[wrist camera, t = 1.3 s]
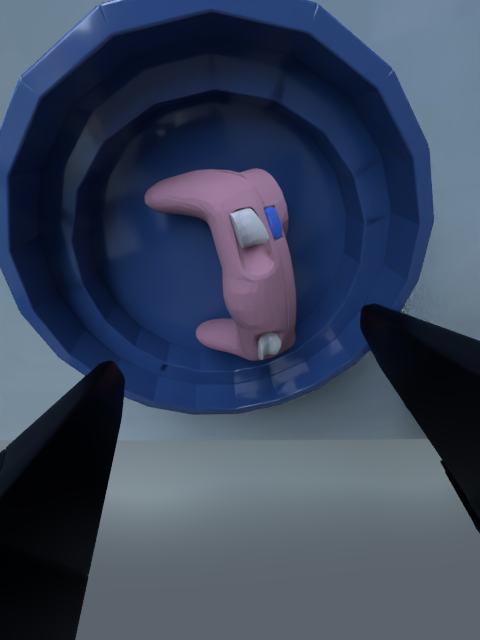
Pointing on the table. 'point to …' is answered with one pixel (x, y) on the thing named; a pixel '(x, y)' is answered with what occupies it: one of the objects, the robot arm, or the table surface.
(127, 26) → the bowl
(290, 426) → the table surface
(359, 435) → the table surface
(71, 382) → the table surface
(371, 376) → the table surface
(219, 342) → the video game controller
